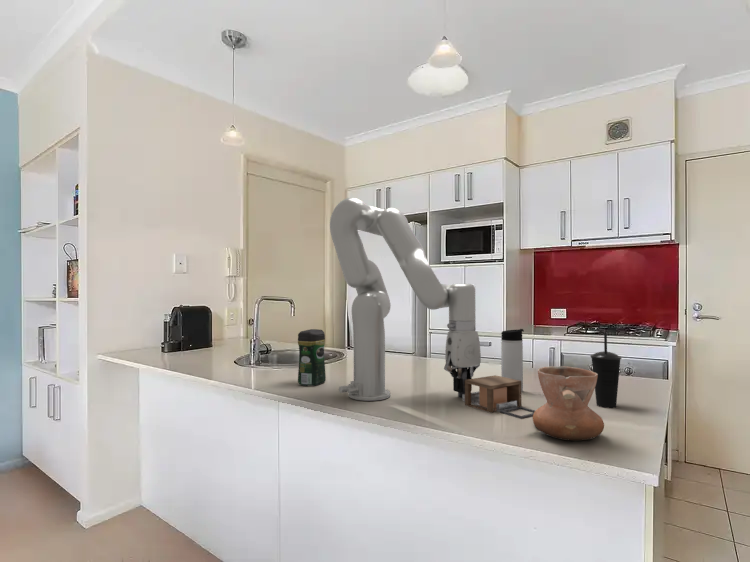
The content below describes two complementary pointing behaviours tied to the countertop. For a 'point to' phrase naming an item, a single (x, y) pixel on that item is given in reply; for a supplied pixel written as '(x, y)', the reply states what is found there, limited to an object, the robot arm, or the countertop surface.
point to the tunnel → (491, 384)
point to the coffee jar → (311, 357)
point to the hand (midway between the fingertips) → (462, 390)
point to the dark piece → (518, 415)
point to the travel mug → (512, 355)
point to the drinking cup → (606, 376)
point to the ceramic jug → (567, 404)
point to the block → (498, 396)
